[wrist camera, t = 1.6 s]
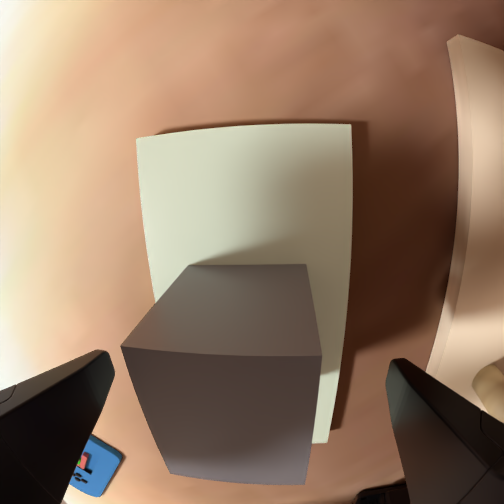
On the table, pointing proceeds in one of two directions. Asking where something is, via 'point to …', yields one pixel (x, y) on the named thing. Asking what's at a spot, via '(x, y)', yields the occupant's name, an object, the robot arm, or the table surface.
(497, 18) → the table surface
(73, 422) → the robot arm
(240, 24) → the table surface
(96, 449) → the handheld gaming device
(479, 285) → the plate
